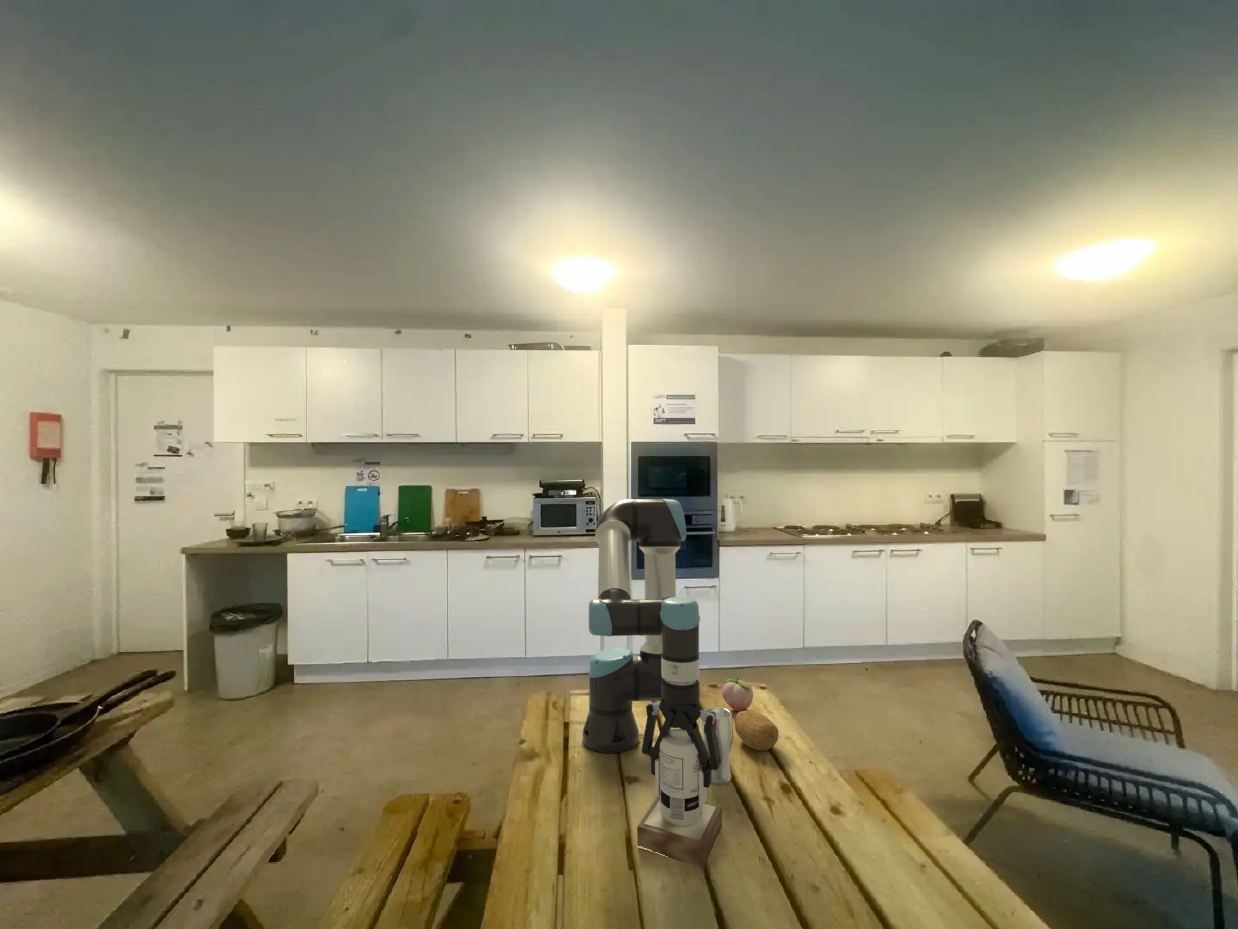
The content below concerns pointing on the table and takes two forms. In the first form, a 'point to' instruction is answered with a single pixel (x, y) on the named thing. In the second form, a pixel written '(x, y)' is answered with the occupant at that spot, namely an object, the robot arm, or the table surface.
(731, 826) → the table surface
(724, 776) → the metal tumbler
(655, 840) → the base
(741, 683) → the decorative fruit
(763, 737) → the potato
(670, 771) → the supplement can
